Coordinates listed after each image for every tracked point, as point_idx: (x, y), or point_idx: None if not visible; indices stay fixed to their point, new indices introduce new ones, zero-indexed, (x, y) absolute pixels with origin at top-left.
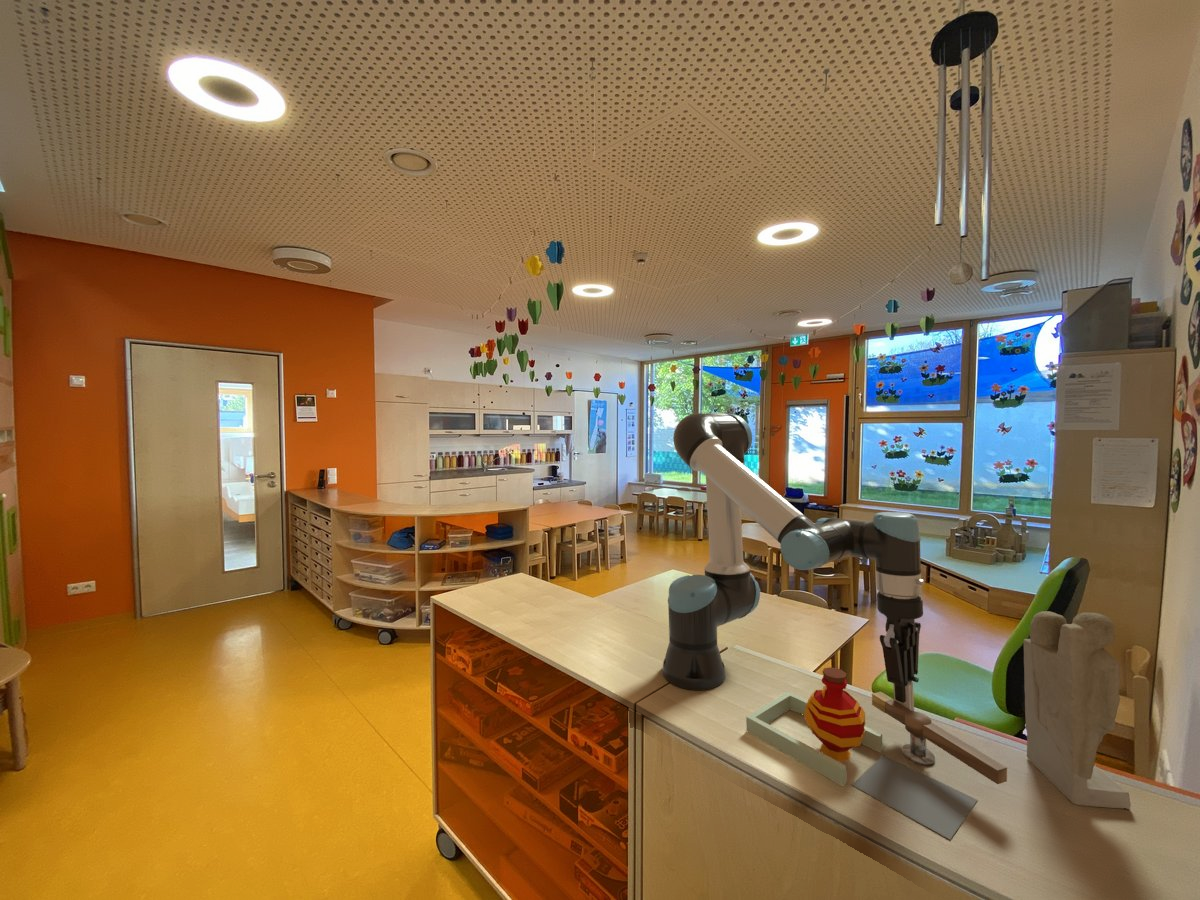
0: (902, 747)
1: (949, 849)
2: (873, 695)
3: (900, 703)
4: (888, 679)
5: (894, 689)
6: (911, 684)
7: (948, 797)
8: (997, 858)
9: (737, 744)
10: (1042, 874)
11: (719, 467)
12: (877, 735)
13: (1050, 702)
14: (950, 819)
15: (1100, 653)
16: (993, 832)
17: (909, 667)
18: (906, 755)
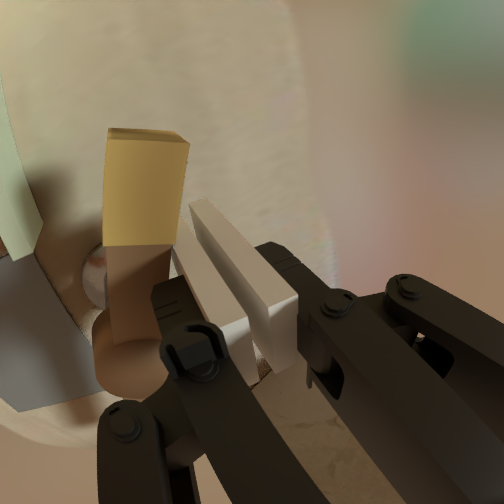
0: (100, 249)
1: (10, 415)
2: (106, 151)
3: (180, 271)
4: (103, 439)
5: (194, 289)
6: (274, 369)
7: (73, 375)
8: (59, 430)
9: None
10: (92, 442)
11: None
12: (11, 254)
13: (352, 470)
14: (41, 398)
15: None
16: (88, 414)
17: (354, 432)
18: (82, 278)
